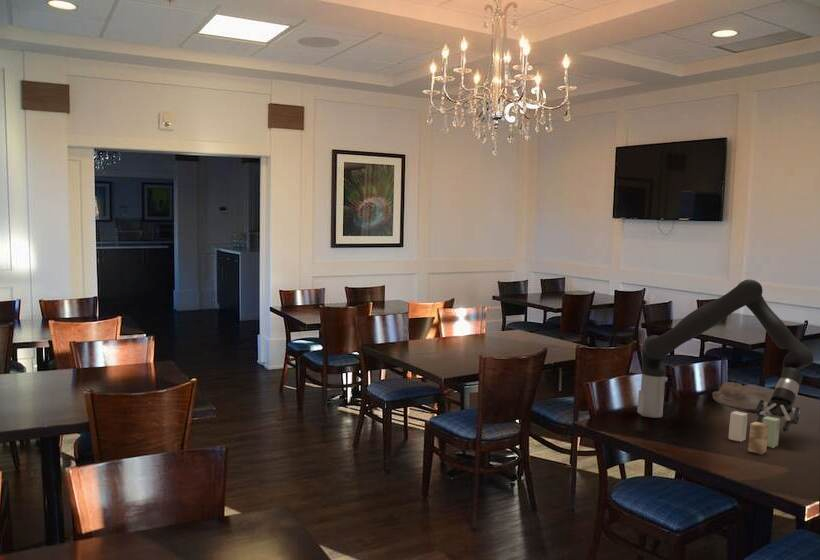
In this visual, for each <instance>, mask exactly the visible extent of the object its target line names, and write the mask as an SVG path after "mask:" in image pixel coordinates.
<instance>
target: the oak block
mask: <svg viewBox="0 0 820 560" xmlns="http://www.w3.org/2000/svg"><path fill="white" fill-rule="evenodd" d="M749 426H750V427H749V438H748V448H747V451H748V452H751V453H755V454H757V453H758V455H763V454H765V453H767V447H768V446H767V437H768V426H769V425H768V424H764V423H760V422H757V421H754V422H752V423H750V424H749Z"/></svg>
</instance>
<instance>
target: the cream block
mask: <svg viewBox="0 0 820 560" xmlns="http://www.w3.org/2000/svg"><path fill="white" fill-rule="evenodd" d="M748 415H749V413H748V412H747V413H746V412H742V411H741V412H740V411H737V410H734V411H731V412H730V415H729V418H730V419H729V425H728V426H729V428H728V440H731V441H736V442H739V441H740V442H739V443H742V442H744V441H745V440H747V439H746V437H747V428H748Z"/></svg>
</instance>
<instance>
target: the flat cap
mask: <svg viewBox="0 0 820 560" xmlns="http://www.w3.org/2000/svg"><path fill="white" fill-rule="evenodd" d="M711 394H712V399H713V400H714V401H715V402H716V403H718V404H721V405H723V406H725V407H727V408H732V409H734V410H735V409H736V410H739V411H744V412H749V413H750V412H752V413H756V412H755V410H756V408H757V406H758V404H759V402H760V400H764V402H769V401H770V400H771V396H769V395H768V394H767V393H765V392H763V391H761V390H758V389H755V388H752V387H747V386H744V385H742V384H741V383H740V382H739V383H738V382H733V381H732V382H730V381H725V382H724V383H723V384H721V386H720V387H719V389H718V390H716V391H712V393H711ZM767 407H768V406H766V407H765V408H767ZM765 408H763V410H762V411H764V410H765ZM769 412H770V410H769Z"/></svg>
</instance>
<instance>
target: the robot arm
mask: <svg viewBox="0 0 820 560" xmlns="http://www.w3.org/2000/svg"><path fill="white" fill-rule="evenodd" d="M763 291H764V290H763V286H762V284H761V283H760V282H758V281H757V280H755V279H744V280H742V281H741V282H740V283H738V284H737V285H736V286H735V287H734V288H732V289H731V290H730V291H728V292H727V293H725V294H723V295H722V296H720V297H719V298H716V299H714V300H712V301H710V302H707V303H705V304H704V305H701V306H700V307H698V308H697V309H694V310H693V311H692V312H690V313H689V314H687V315H685V316H684V317H683V318H682V319H681V320H680V321H678V323H677V324H676V325H675V326H673V327H672V328H671V329H669V330H668V331H665V332H664V333H662V334H661V335H657V334H653V335H649V336H647V337H646V338H645V340H644V342H643V345H642V355H641V356H642V357H641V381H640V390H638V397H637V411H636V412H637V414H639V415H640V416H642V417H646V418H653V419H654V418H663V415H664V412H663V411H664V410H663V409H664V397H665V385H666V384H665V383H666V371H667V370H666V369H667V368H666V358H667V356H668V355H669V354H670V353H672V352H673V351H674V350H676V349H677V348H679V347H680V346H681V345H684V344H685V343H686V342H689V341H690V340H692V339H695V338H696V337H698V336H699V335H702V334H703V333H705V332H708V330H710V329H712V328H714V327H716V326H717V325H718V324H719V323H721V322H722V321H724V320H725V319H726V318H727V317H728V316H729V315H731V314H732V313H734V312H735V311H737V310H739V309H742V308H743V307H745V306H746V307H747V309H749V310H750V311H751V312H752V314H753V315H754V316H755V317H756V319H757V320H758V322H759V323H760V324H761V326H762V328H763V329H764V330H765V331H766V332H767V334H768V336H769V337H770V338H771V340H772V341H773V342H774V344H775V345H776V346H777V348H779V349H782V350H783V349H784V350H788V351H789V352H788V353H787V354H786V355H785V357H784V358H783V360H782V372H781V375H780V377H779V380H778V381H777V383H776V385H775V388H774V389H773V393H772V395H771V396H770V398H771V400H770V401H769V402H764V400H760V402H759V404H758V406H757V408H756V410H755V412H754V413H755V415H756V416H757V417H758V418H757V420H756V422H760V423H762V421H763V418H764V417H766V416H769V417H771V416H772V415H773V416H775V417H776V416H778V417H780V418H783V417H784V419H785V421H784V424H783V426H782V432H783V433H787V432H788V431H789V430H790V427H791V425H797V424H798V423H799V420H800V415H801V409H800V407H798V406H797V407H793V405H794V403H795V401H796V398H797V396H798V393H799V389H800V386H801V384H802V380H803V372H802V371H801V369H803V368H806V367H808V366H810V365H812V364H813V363H814V355H813V353H812V351H811V350H810V349H809V348H808V347H807V346H806V344H804V343H802V342H801V340H799V339H798V338H796V337H795V336H794V335H793V333H792V332H791V330H790V329H789V327H787V325H786V324H785V323H784V322H783V321H782V320H781V319H780V317H779V316H778V315H777V314H776V313H775V312H774V311H773V310H772V309H771V307H770V306H769V304H768V303H767V302H766V299H765V298H764V297H763ZM766 406H768V407H767V408H765V407H766ZM763 408H765V410H764V411H762V410H763ZM769 410H770V412H769ZM790 413H793V416H792V418H791V417H790V415H789V414H790Z"/></svg>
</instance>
